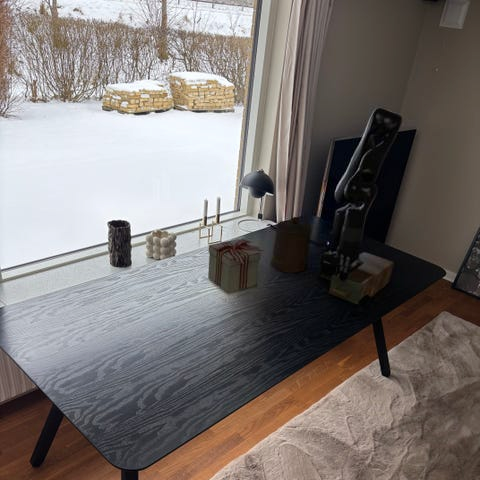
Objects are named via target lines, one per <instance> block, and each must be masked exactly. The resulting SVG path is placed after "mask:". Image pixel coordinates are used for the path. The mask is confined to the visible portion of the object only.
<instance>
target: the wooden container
mask: <svg viewBox="0 0 480 480" xmlns="http://www.w3.org/2000/svg"><path fill="white" fill-rule="evenodd" d="M276 228H277V229H275V230H276V231H275V232H276V233H275V238H274V244H273V252H272V262H271V265H272V266H273V268H275V269H276V270H279V271H281V272H284V273H299V272H302V271H304V270H305V269H306V267H307V260H308V254H309V246H310V241H309V239H310V240H311V235H312V234H311V233H312V227H311V225H310V224H308V223H307V222H303V221H300V218H298V217H297V216H293V217H291V218H290V219H289V220H281V221H279V222H278V223H277V225H276Z"/></svg>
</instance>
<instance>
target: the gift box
mask: <svg viewBox="0 0 480 480" xmlns="http://www.w3.org/2000/svg"><path fill="white" fill-rule="evenodd" d="M250 243H251V241H250V240H248V239H246V238H241V239H240V238H236V239H232V240H225V241H222V242H217V243H213V244H210V245H208V255H209V257H208V271H207V272H208V274H207V275H208V276H207V278H208V280H210V281H211V282H212V283H213V284H214V285H216V286H217V287H219V288H220V289H221V290H223V291H224V292H225V293H226V294H230V293H235V292H237V291H241V290H245V289H247V288H253V287H255V286H257V282H258V273H259V272H258V271H259V262H260V260H261V254H262V253H261V252H264V250H263V249H261V248H259V247H258V246H255V245H250Z"/></svg>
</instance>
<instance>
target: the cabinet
mask: <svg viewBox="0 0 480 480" xmlns="http://www.w3.org/2000/svg"><path fill="white" fill-rule="evenodd" d="M359 259H360V260H361V261H363V262H364V264H363V265H361V266H360V267H358V268H357V269H356V270H358V271H361V272H364V273H367V274H369V275H372V276H374V280H373V284H372V288H371V292H369V293H368V294H367V295H366V296H368V297H370V298H371V297H374V295H376V294H377V293H378V292H380V291H381V290H382V289H383V288H384V287H386V286H387V285H388V284H389V283H390V281H391V276H392V273H393V272H392V271H393V269H394V264H395V261H393V260H390V259H386V258H383V257H380V256H377V255H375V254H371V253H369V252H365V251H363V252H362V253H359ZM355 263H356V261H355V262H354V263H352V265H351V268H353V267H354V266H355Z"/></svg>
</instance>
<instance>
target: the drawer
mask: <svg viewBox="0 0 480 480" xmlns="http://www.w3.org/2000/svg"><path fill="white" fill-rule="evenodd" d="M339 275H340V272H339V273H338V274H336V275H332V280H331V282H330V286H329V291H328V294H330V295H332V296H334V297H336V298H340V299H342V300H345V301H348V302H349V303H352V304H355V305H359V304H360V301H361V300H362V299H363V298H365V297H366V296H368V295H367V294H368V293H369V292H371V288H372V284H373V280H374V276H372V275H369V274H367V273H364V272H361V271H358V270H354V271H353V272H351V273H349V274H348V278H347V279H346V280H345V281H341V280H340V278H339Z"/></svg>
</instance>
